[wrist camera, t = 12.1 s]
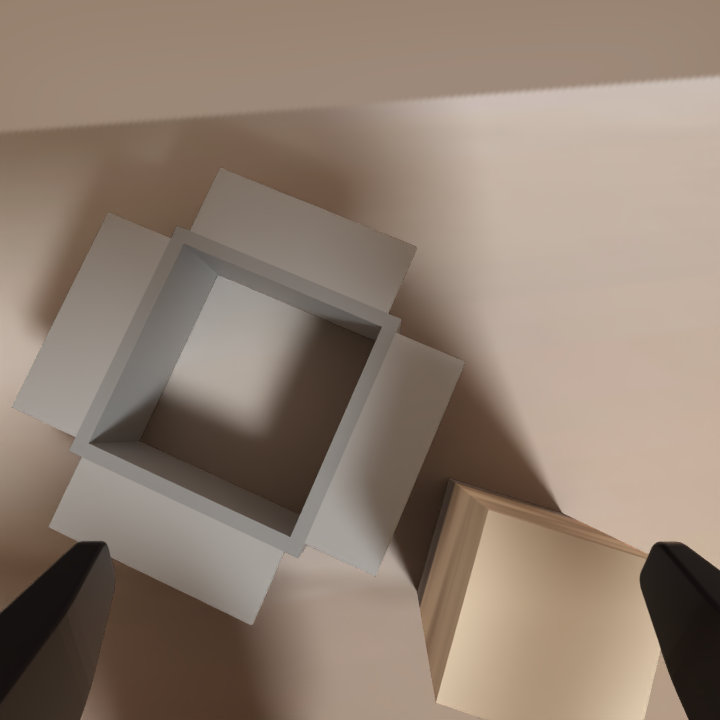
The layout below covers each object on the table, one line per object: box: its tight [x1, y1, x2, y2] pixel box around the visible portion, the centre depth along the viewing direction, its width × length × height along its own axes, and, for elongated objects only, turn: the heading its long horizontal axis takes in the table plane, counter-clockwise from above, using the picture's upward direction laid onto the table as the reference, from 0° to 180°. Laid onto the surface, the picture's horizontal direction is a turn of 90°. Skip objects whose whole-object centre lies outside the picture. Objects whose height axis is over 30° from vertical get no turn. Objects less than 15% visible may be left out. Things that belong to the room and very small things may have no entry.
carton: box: [12, 168, 465, 626], centre depth 21 cm, size 14×14×4 cm
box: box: [417, 478, 661, 720], centre depth 18 cm, size 4×4×9 cm
